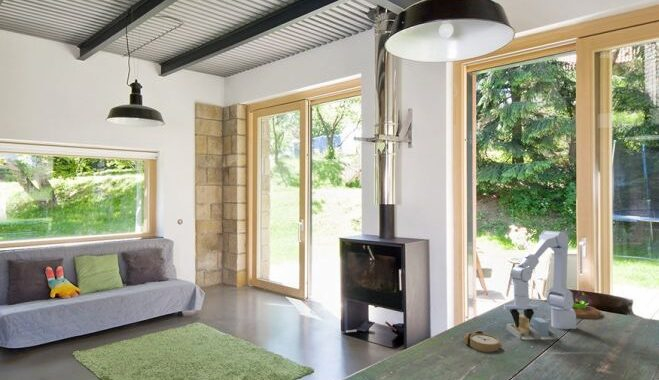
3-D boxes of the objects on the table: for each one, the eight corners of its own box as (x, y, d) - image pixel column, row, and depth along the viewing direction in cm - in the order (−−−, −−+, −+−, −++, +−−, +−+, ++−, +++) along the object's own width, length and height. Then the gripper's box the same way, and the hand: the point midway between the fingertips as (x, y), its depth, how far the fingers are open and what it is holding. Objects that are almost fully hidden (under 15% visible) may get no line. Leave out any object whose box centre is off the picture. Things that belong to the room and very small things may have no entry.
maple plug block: (522, 328, 187) (522, 314, 187) (529, 333, 180) (529, 319, 180) (514, 328, 187) (513, 314, 187) (520, 333, 180) (520, 319, 180)
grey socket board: (541, 330, 190) (540, 323, 190) (556, 341, 176) (556, 333, 176) (506, 330, 191) (506, 323, 191) (519, 341, 177) (519, 333, 177)
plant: (605, 320, 204) (604, 297, 205) (559, 317, 211) (559, 294, 211) (595, 310, 223) (594, 288, 223) (553, 307, 230) (553, 286, 230)
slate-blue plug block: (541, 331, 186) (540, 317, 186) (548, 336, 179) (548, 322, 179) (532, 331, 186) (532, 317, 187) (540, 336, 179) (539, 322, 180)
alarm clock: (487, 346, 163) (457, 329, 176) (485, 359, 164) (456, 341, 177) (506, 341, 169) (476, 325, 182) (504, 353, 169) (475, 336, 182)
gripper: (534, 292, 187) (534, 324, 187) (500, 293, 188) (501, 324, 187) (541, 296, 180) (542, 329, 180) (506, 296, 181) (507, 329, 180)
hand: (521, 326), depth 183 cm, fingers closed on maple plug block, 3 cm apart
